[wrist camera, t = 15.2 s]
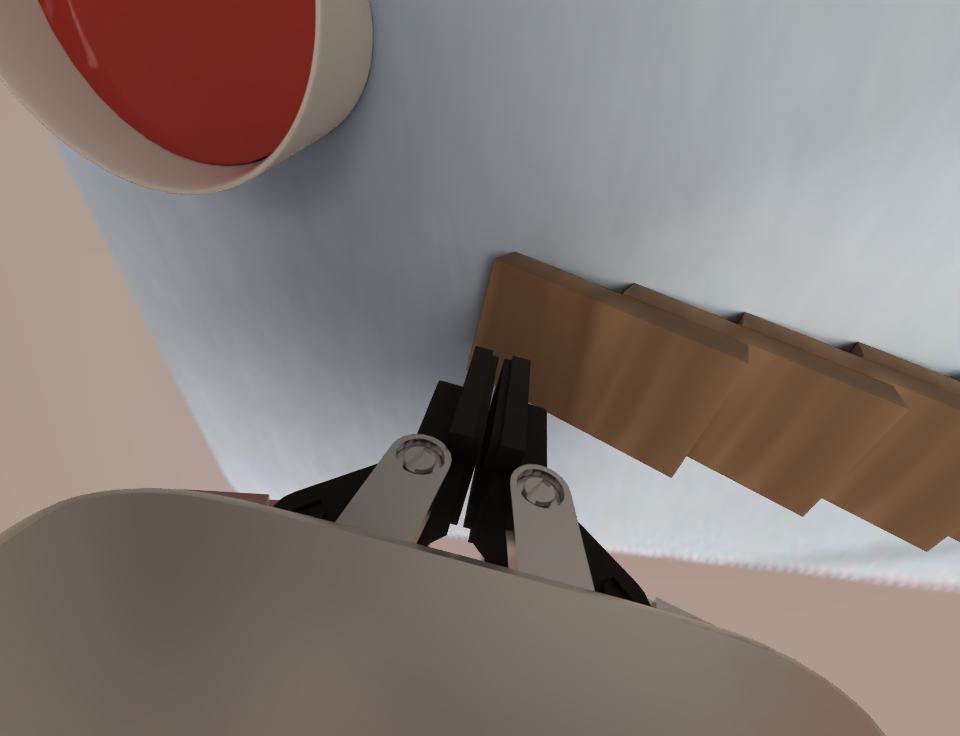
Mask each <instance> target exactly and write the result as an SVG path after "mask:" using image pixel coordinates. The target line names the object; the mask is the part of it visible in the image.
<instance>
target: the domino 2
mask: <svg viewBox="0 0 960 736" xmlns="http://www.w3.org/2000/svg"><path fill="white" fill-rule="evenodd" d="M623 295H625V296H627V297H630V298H632V299H635V300H637V301H640V302H642V303H645V304H647V305H650V306H652V307H655V308H657V309H660V310H662V311H665V312H667V313H670V314H672V315H675V316H677V317H680V318H682V319H685V320H687V321H690V322H692V323H695V324H697V325H700V326H702V327H705V328H707V329H710V330H712V331H715V332H717V333H720V334H722V335H725V336H727V337H730V338H732V339H735V340H737V341H740V342H742V343H745V344H747V345H748V354H749V364H748V366H747V367H746V369H745V370H744V372H743V373H742V375H741V376H740V378H739V379H738V381H737V382H736V384H735V385H734V387H733V388H732V390H731V391H730V392H729V394H728V395H727V397H726V398H725V400H724V401H723V403H722V404H721V406H720V407H719V409H718V410H717V412H716V413H715V415H714V416H713V418H712V419H711V420H710V422H709V423H708V425H707V426H706V428H705V429H704V431H703V432H702V434H701V435H700V437H699V438H698V440H697V441H696V443H695V444H694V446H693V447H692V449H691V450H690V451H689V453H688V454H687V456H688V457H689V458H691V459H693V460H695V461H697V462H699V463H701V464H703V465H705V466H707V467H709V468H710V469H712V470H714V471H716V472H718V473H720V474H722V475H724V476H726V477H728V478H730V479H732V480H733V481H735V482H737V483H739V484H741V485H743V486H745V487H747V488H749V489H751V490H753V491H754V492H756V493H758V494H760V495H762V496H764V497H766V498H768V499H770V500H772V501H774V502H775V503H777V504H779V505H781V506H783V507H785V508H787V509H789V510H791V511H793V512H795V513H796V514H798V515H800V516H802V517H803V516H804V515H805V514H806V513H807V512H808V511H809V510H810V509H811V508H812V507H813V506H814V505H815V504H816V503H817V502H818V501H819V500H820V499H821V498H822V497H823V496H824V495H825V494H826V493H827V492H828V491H829V490H830V489H831V488H832V487H833V486H834V485H835V484H836V483H837V482H838V481H839V480H840V479H841V478H842V477H843V476H844V475H845V474H846V473H847V472H848V471H849V470H850V469H851V468H852V467H853V466H854V465H855V464H856V463H857V462H858V461H859V460H860V459H861V458H862V457H863V456H864V455H865V454H866V453H867V452H868V451H869V450H870V449H871V448H872V447H873V446H874V445H875V444H876V443H877V442H878V441H879V440H880V439H881V438H882V437H883V436H884V435H885V434H886V433H887V432H888V431H889V430H890V429H891V428H892V427H893V426H894V425H895V424H896V423H897V422H898V421H899V420H900V419H901V418H902V417H903V416H904V415H905V414H906V413H907V412H908V411H909V408H908V407H907V405H906V404H905V402H904V401H903V399H902V398H901V397H900V395H899V394H898V392H897V391H896V389H895V388H894V386H892V385H889V384H887V383H884V382H882V381H879V380H877V379H874V378H871V377H869V376H866V375H864V374H861V373H859V372H856V371H854V370H851V369H849V368H846V367H844V366H841V365H839V364H836V363H834V362H831V361H829V360H826V359H824V358H821V357H819V356H816V355H814V354H811V353H809V352H806V351H804V350H801V349H798V348H796V347H793V346H791V345H788V344H786V343H783V342H781V341H778V340H776V339H773V338H771V337H768V336H766V335H763V334H761V333H758V332H756V331H753V330H751V329H748V328H746V327H743V326H741V325H738V324H736V323H733V322H731V321H728V320H726V319H723V318H720V317H718V316H715V315H713V314H710V313H708V312H705V311H703V310H700V309H698V308H695V307H693V306H690V305H688V304H685V303H683V302H680V301H678V300H675V299H673V298H670V297H668V296H665V295H663V294H660V293H658V292H655V291H653V290H650V289H648V288H645V287H642V286H640V285H637V284H635V283H634V284H633V285H632V286H631V287H629V288H628V289H627V290H626V291H625V292H624V293H623Z"/></svg>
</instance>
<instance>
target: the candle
mask: <svg viewBox="0 0 960 736" xmlns="http://www.w3.org/2000/svg"><path fill="white" fill-rule="evenodd" d="M372 50H373V23H372V14H371V7H370V1H369V0H0V80H1V81H2V82H3V83H4V85H5V86H6V87H7V88H8V89H9V90H10V91H11V93H12V94H13V95H14V96H15V97H16V98H17V99H18V100H19V101H20V102H21V103H22V105H24V106H25V108H26V109H27V110H28V111H29V112H30V113H31V114H33V116H34V117H36V118H37V119H38V120H39V121H40V122H41V123H42V124H43V125H44V126H45V127H46V128H47V129H49V130H50V131H51V132H52V133H53V134H54V135H56V136H57V137H58V138H59V139H61V140H62V141H63V142H64V143H66V144H67V145H68V146H70V147H71V148H72V149H74V150H75V151H76V152H78V153H79V154H81V155H82V156H84V157H85V158H87V159H88V160H90V161H91V162H93V163H95V164H96V165H98V166H99V167H101V168H103V169H105V170H107V171H108V172H110V173H112V174H114V175H116V176H118V177H121V178H123V179H125V180H127V181H130V182H132V183H135V184H138V185H140V186H144V187H147V188H150V189H154V190H158V191H162V192H167V193H174V194H184V195H200V194H210V193H216V192H221V191H225V190H228V189H231V188H234V187H237V186H239V185H241V184H244V183H246V182H248V181H250V180H252V179H253V178H255V177H257V176H258V175H260V174H262V173H264V172H265V171H267V170H269V169H270V168H272V167H274V166H275V165H277V164H279V163H280V162H282V161H284V160H285V159H287V158H289V157H290V156H292V155H294V154H295V153H297V152H298V151H300V150H302V149H303V148H305V147H307V146H308V145H310V144H312V143H313V142H315V141H317V140H318V139H320V138H321V137H323V136H324V135H326V134H327V133H329V132H330V131H332V130H333V129H334V128H336V127H337V126H338V125H339V124H340V123H341V122H342V121H343V120H344V119H345V118H346V117H347V116H348V115H349V114H350V113H351V111H352V110H353V108H354V107H355V105H356V104H357V102H358V100H359V98H360V96H361V94H362V92H363V90H364V87H365V84H366V81H367V78H368V74H369V70H370V65H371V59H372Z"/></svg>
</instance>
